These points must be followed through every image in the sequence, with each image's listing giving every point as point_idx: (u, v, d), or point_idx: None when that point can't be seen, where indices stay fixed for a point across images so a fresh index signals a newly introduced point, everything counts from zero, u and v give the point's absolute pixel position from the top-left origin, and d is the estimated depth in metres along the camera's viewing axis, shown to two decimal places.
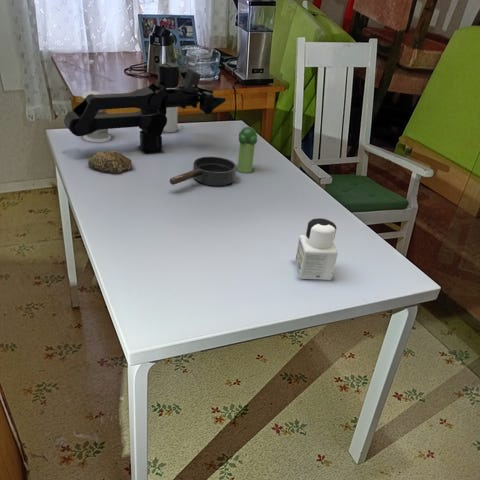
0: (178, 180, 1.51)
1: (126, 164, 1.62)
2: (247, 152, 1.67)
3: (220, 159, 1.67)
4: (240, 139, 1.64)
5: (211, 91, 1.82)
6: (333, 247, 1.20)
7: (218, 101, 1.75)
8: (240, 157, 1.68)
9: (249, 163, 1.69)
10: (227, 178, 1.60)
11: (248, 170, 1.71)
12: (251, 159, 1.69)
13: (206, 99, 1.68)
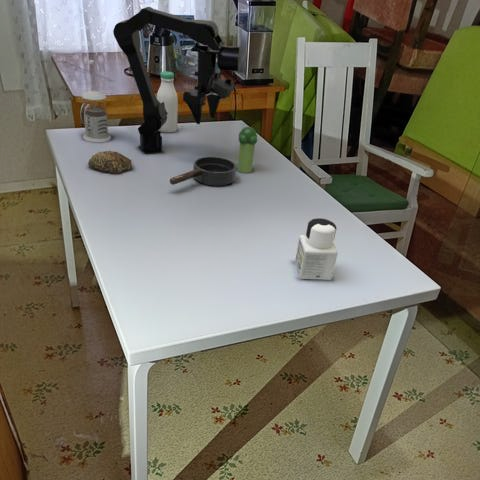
0: (178, 180, 1.51)
1: (126, 164, 1.62)
2: (247, 152, 1.67)
3: (220, 159, 1.67)
4: (240, 139, 1.64)
5: (213, 115, 1.72)
6: (333, 247, 1.20)
7: (196, 114, 1.63)
8: (240, 157, 1.68)
9: (249, 163, 1.69)
10: (227, 178, 1.60)
11: (248, 170, 1.71)
12: (251, 159, 1.69)
13: (195, 95, 1.56)
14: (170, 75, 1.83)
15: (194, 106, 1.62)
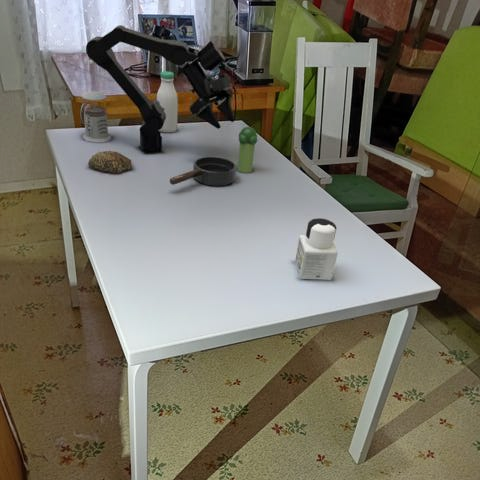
0: (178, 180, 1.51)
1: (126, 164, 1.62)
2: (247, 152, 1.67)
3: (220, 159, 1.67)
4: (240, 139, 1.64)
5: (232, 119, 1.70)
6: (333, 247, 1.20)
7: (211, 120, 1.63)
8: (240, 157, 1.68)
9: (249, 163, 1.69)
10: (227, 178, 1.60)
11: (248, 170, 1.71)
12: (251, 159, 1.69)
13: (198, 100, 1.57)
14: (170, 75, 1.83)
15: (206, 114, 1.62)
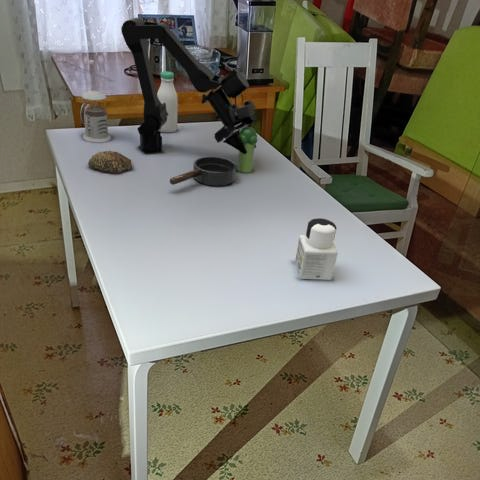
0: (178, 180, 1.51)
1: (126, 164, 1.62)
2: (247, 152, 1.67)
3: (220, 159, 1.67)
4: None
5: None
6: (333, 247, 1.20)
7: (238, 145, 1.64)
8: (240, 157, 1.68)
9: (249, 163, 1.69)
10: (227, 178, 1.60)
11: (248, 170, 1.71)
12: (251, 159, 1.69)
13: (223, 128, 1.58)
14: (170, 75, 1.83)
15: (233, 140, 1.64)
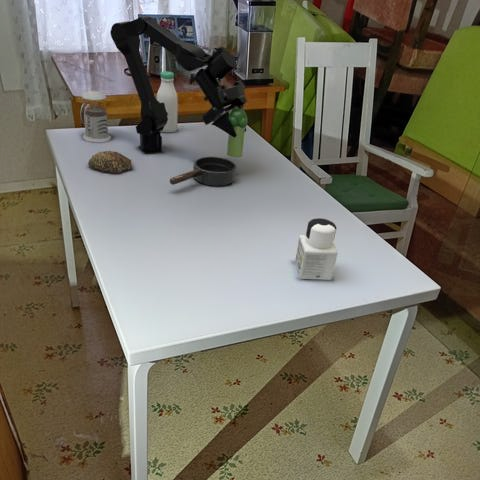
0: (178, 180, 1.51)
1: (126, 164, 1.62)
2: (237, 135, 1.59)
3: (220, 159, 1.67)
4: (230, 121, 1.56)
5: None
6: (333, 247, 1.20)
7: (227, 128, 1.56)
8: (230, 141, 1.61)
9: (239, 147, 1.61)
10: (227, 178, 1.60)
11: (238, 155, 1.63)
12: (241, 143, 1.61)
13: (211, 109, 1.50)
14: (170, 75, 1.83)
15: (222, 123, 1.56)
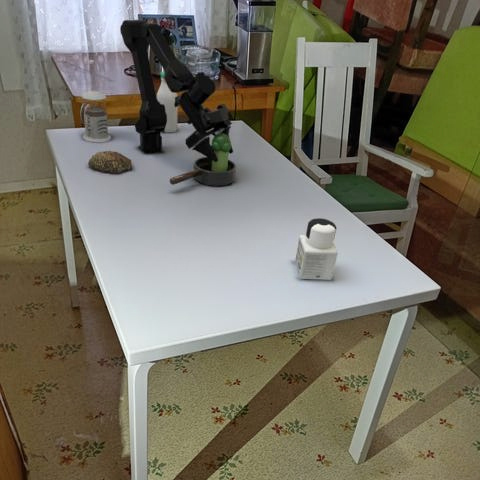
0: (178, 180, 1.51)
1: (126, 164, 1.62)
2: (220, 160, 1.58)
3: None
4: (212, 146, 1.55)
5: (231, 150, 1.62)
6: (333, 247, 1.20)
7: (208, 153, 1.54)
8: (213, 165, 1.60)
9: (223, 171, 1.60)
10: (227, 178, 1.60)
11: None
12: (225, 167, 1.60)
13: (194, 133, 1.49)
14: None
15: (203, 147, 1.54)
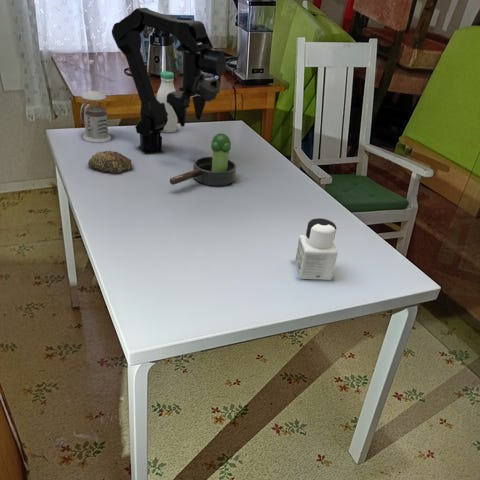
0: (178, 180, 1.51)
1: (126, 164, 1.62)
2: (220, 160, 1.58)
3: None
4: (212, 146, 1.55)
5: (198, 117, 1.68)
6: (333, 247, 1.20)
7: (180, 116, 1.59)
8: (213, 165, 1.60)
9: (223, 171, 1.60)
10: (227, 178, 1.60)
11: None
12: (225, 167, 1.60)
13: (179, 97, 1.52)
14: (170, 75, 1.83)
15: (178, 108, 1.58)
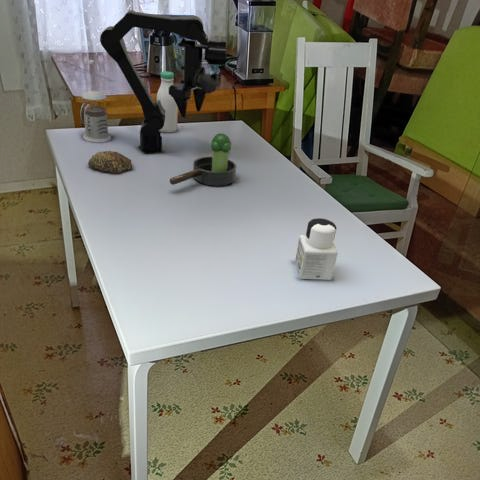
0: (178, 180, 1.51)
1: (126, 164, 1.62)
2: (220, 160, 1.58)
3: None
4: (212, 146, 1.55)
5: (198, 109, 1.75)
6: (333, 247, 1.20)
7: (181, 107, 1.66)
8: (213, 165, 1.60)
9: (223, 171, 1.60)
10: (227, 178, 1.60)
11: None
12: (225, 167, 1.60)
13: (181, 89, 1.59)
14: (170, 75, 1.83)
15: (180, 100, 1.65)
